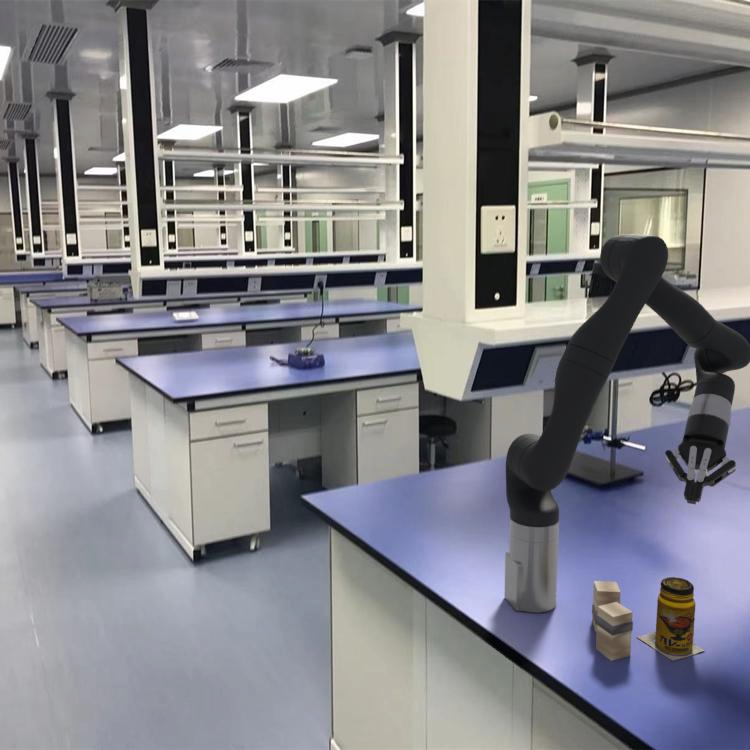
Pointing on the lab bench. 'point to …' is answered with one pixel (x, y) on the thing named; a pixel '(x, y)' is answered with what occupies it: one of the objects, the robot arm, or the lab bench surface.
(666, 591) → the condiment
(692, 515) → the lab bench surface
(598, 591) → the banded post
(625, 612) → the banded post
